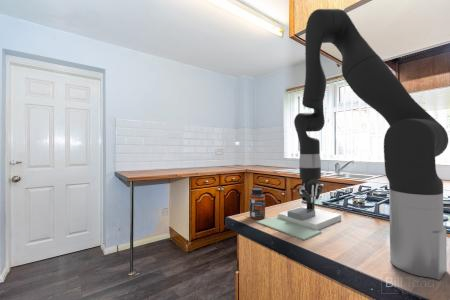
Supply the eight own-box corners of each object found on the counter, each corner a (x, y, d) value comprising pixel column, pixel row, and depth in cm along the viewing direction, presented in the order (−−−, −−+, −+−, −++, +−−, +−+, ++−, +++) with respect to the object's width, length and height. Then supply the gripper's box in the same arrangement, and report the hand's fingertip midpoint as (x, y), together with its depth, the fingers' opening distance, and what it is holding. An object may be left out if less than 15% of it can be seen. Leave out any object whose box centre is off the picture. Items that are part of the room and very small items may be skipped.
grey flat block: (315, 216, 82) (315, 210, 82) (301, 220, 77) (301, 215, 77) (301, 212, 87) (301, 207, 87) (287, 216, 82) (287, 211, 82)
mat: (321, 232, 72) (321, 231, 72) (304, 240, 66) (304, 238, 66) (273, 217, 88) (273, 216, 88) (256, 222, 83) (256, 221, 83)
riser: (341, 220, 83) (341, 214, 83) (316, 230, 73) (315, 224, 73) (303, 210, 96) (303, 205, 96) (278, 218, 86) (277, 213, 86)
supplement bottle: (254, 220, 84) (253, 190, 84) (247, 216, 90) (246, 188, 90) (268, 218, 87) (267, 189, 86) (260, 214, 92) (259, 186, 92)
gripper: (307, 168, 78) (308, 217, 78) (329, 165, 85) (329, 210, 86) (290, 166, 84) (291, 212, 84) (311, 164, 92) (312, 206, 92)
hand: (310, 211), depth 85 cm, fingers closed
